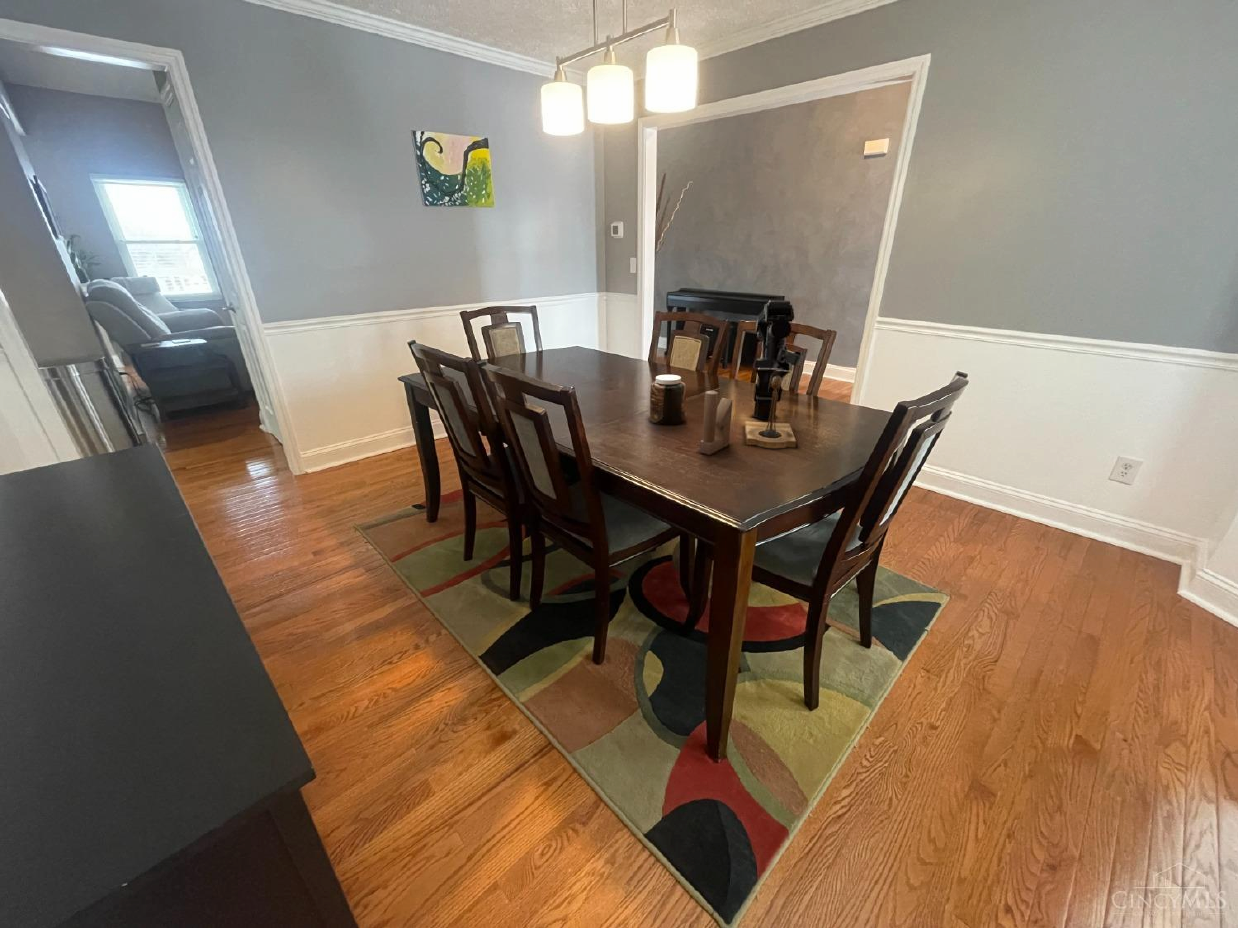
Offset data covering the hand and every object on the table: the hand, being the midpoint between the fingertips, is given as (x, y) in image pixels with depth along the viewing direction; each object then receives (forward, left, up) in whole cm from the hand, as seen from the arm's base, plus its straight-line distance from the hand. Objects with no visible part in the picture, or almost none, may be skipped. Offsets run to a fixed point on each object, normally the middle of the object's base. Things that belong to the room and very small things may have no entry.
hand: (771, 392), depth 156 cm
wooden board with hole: (+4, -6, -12) cm, 14 cm away
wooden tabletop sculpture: (+6, -8, -12) cm, 16 cm away
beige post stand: (-1, -26, -12) cm, 29 cm away
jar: (-29, -17, -12) cm, 36 cm away
